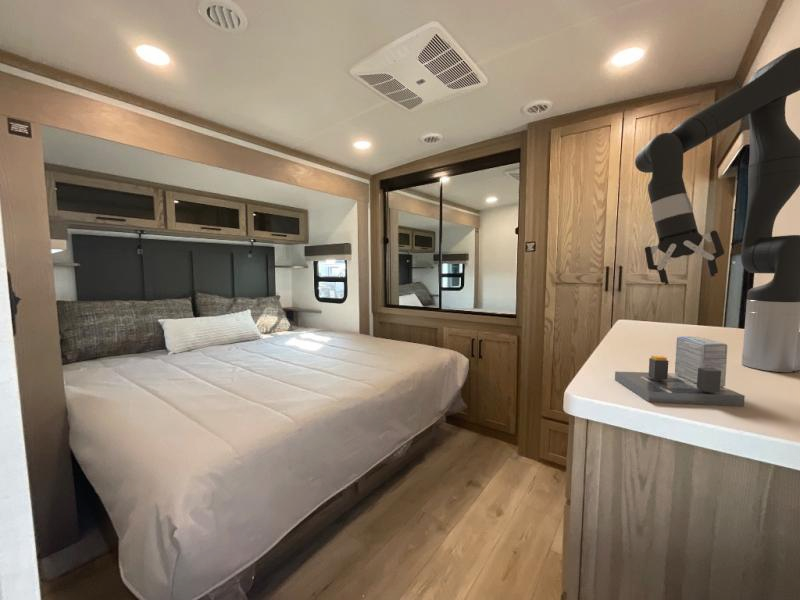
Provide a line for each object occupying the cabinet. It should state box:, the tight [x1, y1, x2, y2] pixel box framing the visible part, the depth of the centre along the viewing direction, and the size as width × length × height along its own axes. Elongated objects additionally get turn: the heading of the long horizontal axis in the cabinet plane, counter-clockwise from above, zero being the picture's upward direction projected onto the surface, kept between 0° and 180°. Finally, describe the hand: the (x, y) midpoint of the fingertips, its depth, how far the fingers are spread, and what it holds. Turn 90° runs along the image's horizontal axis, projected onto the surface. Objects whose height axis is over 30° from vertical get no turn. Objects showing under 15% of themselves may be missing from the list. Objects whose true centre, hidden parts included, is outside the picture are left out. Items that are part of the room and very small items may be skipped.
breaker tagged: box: [648, 355, 669, 380], centre depth 70 cm, size 2×2×5 cm
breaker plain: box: [697, 368, 721, 392], centre depth 63 cm, size 2×2×4 cm
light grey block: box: [674, 335, 728, 387], centre depth 69 cm, size 8×4×9 cm, turn 172°
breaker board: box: [614, 370, 746, 407], centre depth 68 cm, size 16×13×2 cm
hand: (689, 280), depth 80 cm, fingers open, 8 cm apart
